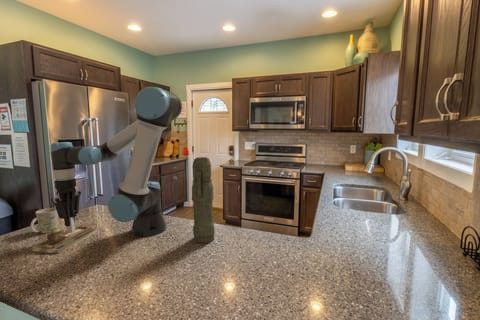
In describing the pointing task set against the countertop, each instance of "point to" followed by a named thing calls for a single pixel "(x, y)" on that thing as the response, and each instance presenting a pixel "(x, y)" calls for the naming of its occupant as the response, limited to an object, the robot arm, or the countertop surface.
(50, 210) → the mug
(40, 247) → the tuner board
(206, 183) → the green carved statue
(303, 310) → the countertop surface
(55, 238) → the slider knob
